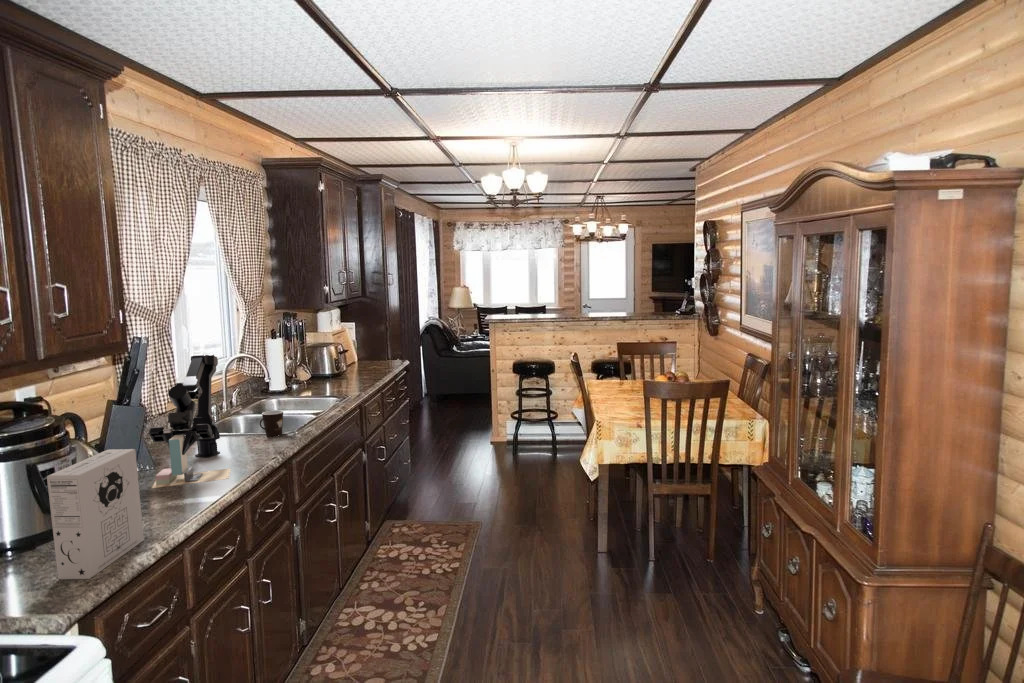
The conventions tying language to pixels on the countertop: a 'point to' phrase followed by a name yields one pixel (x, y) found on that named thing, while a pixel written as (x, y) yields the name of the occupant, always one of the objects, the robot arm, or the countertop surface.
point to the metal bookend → (191, 475)
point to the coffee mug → (272, 422)
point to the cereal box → (95, 512)
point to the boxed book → (177, 455)
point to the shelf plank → (204, 478)
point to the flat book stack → (165, 477)
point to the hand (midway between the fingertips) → (177, 454)
